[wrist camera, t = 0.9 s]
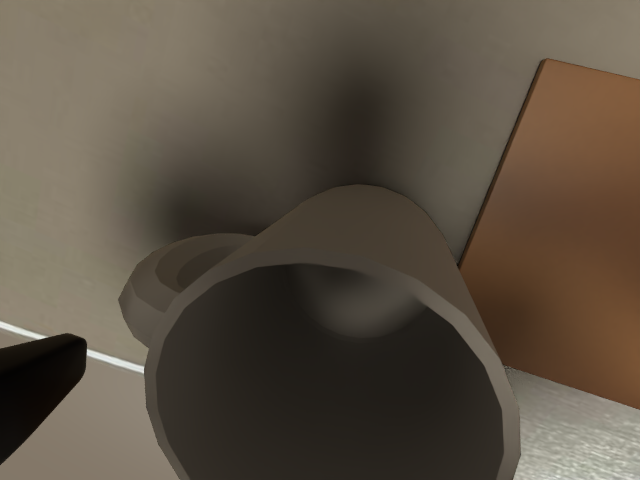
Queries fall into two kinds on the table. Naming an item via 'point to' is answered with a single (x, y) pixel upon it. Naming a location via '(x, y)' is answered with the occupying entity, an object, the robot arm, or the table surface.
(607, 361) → the coaster
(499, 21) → the table surface
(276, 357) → the cup
